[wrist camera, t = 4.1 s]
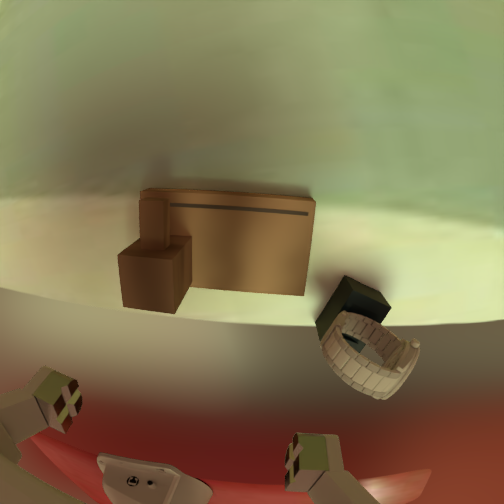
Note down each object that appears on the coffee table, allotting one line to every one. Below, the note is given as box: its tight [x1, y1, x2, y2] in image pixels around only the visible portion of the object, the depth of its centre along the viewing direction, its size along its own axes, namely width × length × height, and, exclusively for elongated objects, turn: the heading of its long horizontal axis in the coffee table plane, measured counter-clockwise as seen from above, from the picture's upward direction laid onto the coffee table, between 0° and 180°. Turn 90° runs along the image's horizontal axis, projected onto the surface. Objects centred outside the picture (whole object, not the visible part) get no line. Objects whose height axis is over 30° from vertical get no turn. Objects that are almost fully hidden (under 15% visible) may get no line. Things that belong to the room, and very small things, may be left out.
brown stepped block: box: [118, 197, 192, 314], centre depth 22 cm, size 4×7×6 cm, turn 176°
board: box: [140, 188, 316, 296], centre depth 25 cm, size 14×8×2 cm, turn 86°
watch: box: [315, 275, 420, 400], centre depth 22 cm, size 6×8×11 cm
